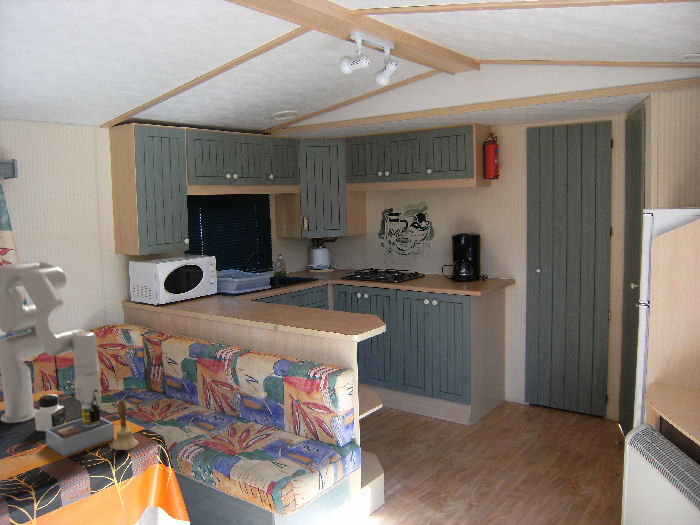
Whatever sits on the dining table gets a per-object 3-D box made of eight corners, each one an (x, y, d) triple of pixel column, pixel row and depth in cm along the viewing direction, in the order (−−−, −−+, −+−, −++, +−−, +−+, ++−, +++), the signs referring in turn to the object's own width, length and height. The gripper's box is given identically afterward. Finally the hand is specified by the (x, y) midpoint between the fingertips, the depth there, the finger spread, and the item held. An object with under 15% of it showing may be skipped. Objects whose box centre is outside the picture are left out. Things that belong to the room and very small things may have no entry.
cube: (58, 445, 200) (57, 430, 199) (73, 440, 204) (72, 426, 203) (65, 449, 197) (63, 434, 196) (79, 443, 200) (78, 429, 200)
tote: (46, 445, 201) (45, 429, 200) (95, 428, 214) (94, 414, 213) (64, 456, 193) (62, 440, 192) (114, 438, 205) (113, 423, 205)
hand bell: (112, 453, 194) (109, 406, 192) (111, 443, 202) (108, 398, 200) (139, 448, 197) (136, 402, 195) (137, 438, 205) (134, 394, 203)
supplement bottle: (83, 428, 202) (80, 400, 201) (82, 423, 207) (79, 396, 205) (100, 425, 204) (98, 397, 203) (99, 420, 209) (96, 393, 208)
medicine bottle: (53, 432, 212) (50, 400, 210) (35, 431, 213) (32, 398, 212) (66, 424, 219) (63, 393, 217) (49, 423, 220) (46, 392, 219)
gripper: (64, 366, 206) (68, 416, 208) (87, 375, 195) (92, 428, 197) (85, 361, 211) (89, 410, 214) (109, 370, 200) (113, 421, 203)
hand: (90, 418), depth 205 cm, fingers closed on supplement bottle, 5 cm apart
